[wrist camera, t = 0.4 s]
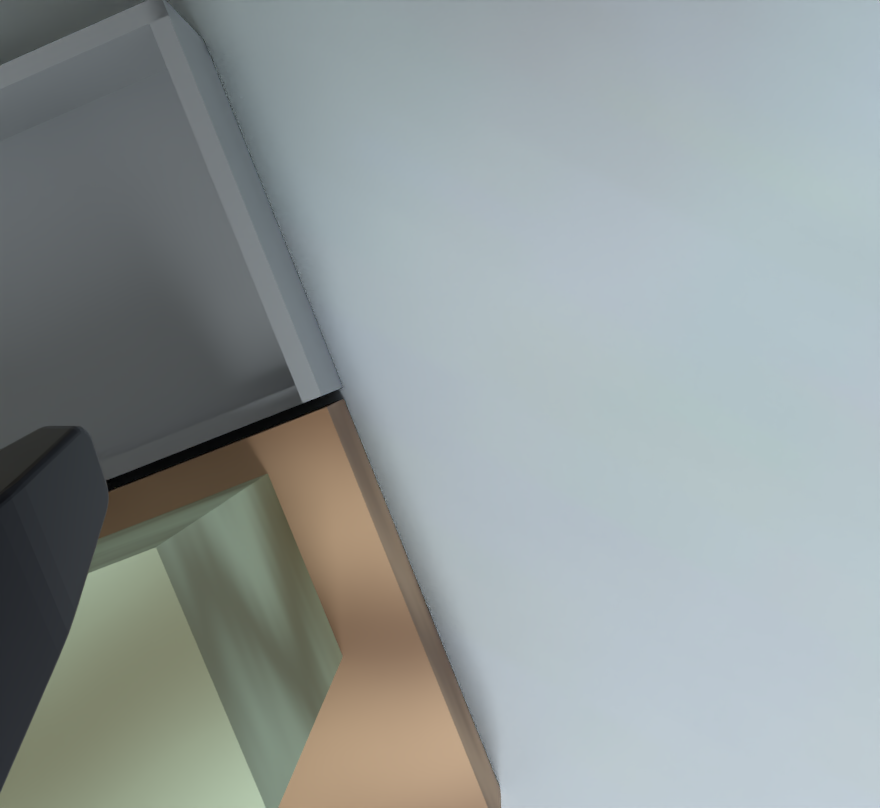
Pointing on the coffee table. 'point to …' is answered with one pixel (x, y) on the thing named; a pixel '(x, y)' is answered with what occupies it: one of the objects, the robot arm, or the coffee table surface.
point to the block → (184, 666)
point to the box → (141, 250)
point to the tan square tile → (348, 620)
